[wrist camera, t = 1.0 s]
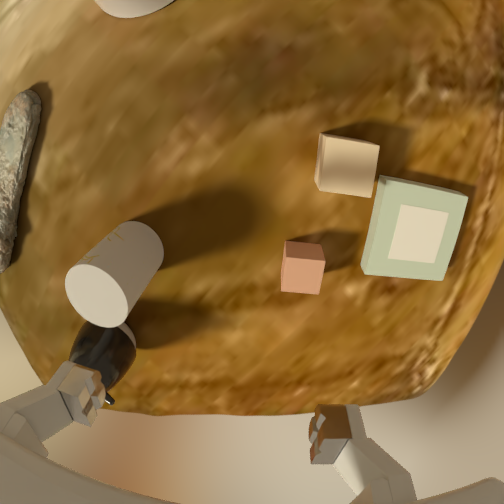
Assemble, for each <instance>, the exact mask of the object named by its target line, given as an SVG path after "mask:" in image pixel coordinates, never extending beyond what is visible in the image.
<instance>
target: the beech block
mask: <svg viewBox="0 0 504 504" xmlns="http://www.w3.org/2000/svg"><path fill="white" fill-rule="evenodd" d="M379 147H380V146H379V145H376V144H374V143H371V142H369V141H366V140H361V139H355V138H349V137H343V136H337V135H330V134H323V133H320V136H319V145H318V153H317V162H316V170H315V177H314V180H315V182H316V184H317V186H318V188H319V190H320V191H326V192H333V193H341V194H348V195H355V196H362V197H369V198H371V195H372V189H373V184H374V178H375V172H376V166H377V160H378V154H379Z"/></svg>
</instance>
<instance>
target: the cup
mask: <svg viewBox="0 0 504 504" xmlns="http://www.w3.org/2000/svg"><path fill="white" fill-rule="evenodd" d="M163 257H164V249H163V245H162V242H161V240H160V238H159V236H158V235H157V234H156V233H155V231H154V230H153V229H151V228H150V227H149V226H147V225H145V224H143V223H141V222H137V221H128V222H124V223H122V224H120V225H119V226H118V227H117V228H115V229H114V230H113V231H112V232H111V233H110V234H108V235H107V236H106V237H105V238H104V239H103V240H102V241H101V242H99V243H98V244H97V245H96V246H95V247H94V248H93V249H92V250H91V251H89V252H88V253H87V254H86V255H85V256H84V257H83V258H82V259H81V260H80V261H79V262H78V263H76V264H75V265H74V266H73V267H72V268H71V269H70V270H69V272H68V273H67V275H66V279H65V288H66V293H67V296H68V298H69V300H70V302H71V304H72V305H73V307H74V308H75V309H76V310H77V312H78V313H79V314H80V315H81V316H83V317H84V318H85V319H86V320H88V321H89V322H91V323H93V324H95V325H98V326H101V327H107V328H111V327H116V326H119V325H120V324H122V323H123V322H124V321H125V319H126V318H127V316H128V314H129V313H130V311H131V310H132V308H133V306H134V305H135V303H136V302H137V300H138V299H139V297H140V296H141V294H142V293H143V291H144V289H145V288H146V286H147V285H148V283H149V282H150V280H151V279H152V277H153V276H154V274H155V273H156V271H157V270H158V268H159V267H160V265H161V264H162V261H163Z"/></svg>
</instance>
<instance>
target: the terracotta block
mask: <svg viewBox="0 0 504 504" xmlns="http://www.w3.org/2000/svg"><path fill="white" fill-rule="evenodd" d="M325 262H326V261H325V257H324V253H323V250H322V246H321V244H313V243H303V242H294V241H285V246H284V254H283V262H282V269H281V291H286V292H297V293H308V294H319V290H320V286H321V281H322V276H323V272H324V267H325Z"/></svg>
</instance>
